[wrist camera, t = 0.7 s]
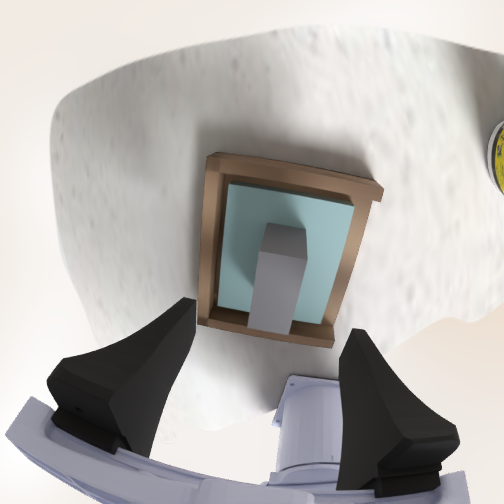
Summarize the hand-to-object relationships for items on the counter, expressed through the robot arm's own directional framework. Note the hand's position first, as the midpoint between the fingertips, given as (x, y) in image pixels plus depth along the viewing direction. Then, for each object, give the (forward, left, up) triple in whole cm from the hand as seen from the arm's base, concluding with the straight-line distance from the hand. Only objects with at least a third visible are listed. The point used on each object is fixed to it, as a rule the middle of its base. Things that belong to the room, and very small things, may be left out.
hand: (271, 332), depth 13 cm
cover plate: (0, 0, -8) cm, 8 cm away
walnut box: (0, 0, -8) cm, 8 cm away
